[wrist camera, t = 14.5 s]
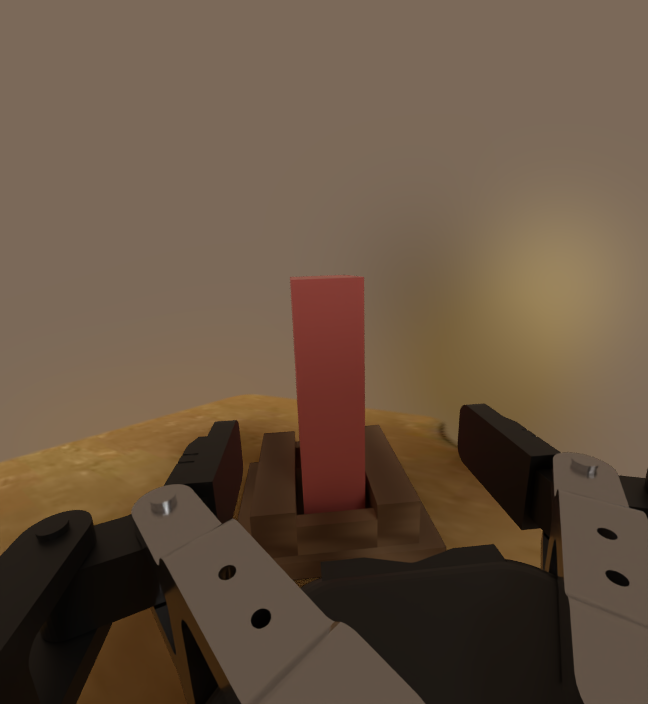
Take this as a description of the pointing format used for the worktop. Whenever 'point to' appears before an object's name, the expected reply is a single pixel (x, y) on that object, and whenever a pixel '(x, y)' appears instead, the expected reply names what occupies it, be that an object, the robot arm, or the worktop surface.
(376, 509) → the rack
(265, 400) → the worktop surface
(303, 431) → the salmon rectangular prism
